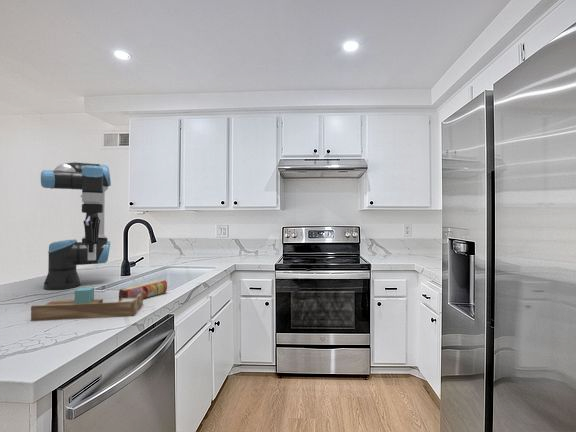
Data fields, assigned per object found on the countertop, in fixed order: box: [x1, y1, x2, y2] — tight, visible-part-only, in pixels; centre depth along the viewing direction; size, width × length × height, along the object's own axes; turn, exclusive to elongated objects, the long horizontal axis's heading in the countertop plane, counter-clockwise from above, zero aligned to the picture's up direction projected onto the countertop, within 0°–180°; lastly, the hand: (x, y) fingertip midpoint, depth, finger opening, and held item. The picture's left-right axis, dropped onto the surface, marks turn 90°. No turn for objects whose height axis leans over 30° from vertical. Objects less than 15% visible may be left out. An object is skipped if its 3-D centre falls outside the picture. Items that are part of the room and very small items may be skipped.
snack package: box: [118, 278, 168, 301], centre depth 145 cm, size 21×7×7 cm, turn 152°
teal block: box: [74, 286, 95, 304], centre depth 126 cm, size 5×5×5 cm
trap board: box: [30, 292, 144, 322], centre depth 123 cm, size 15×33×5 cm, turn 102°
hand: (91, 260), depth 134 cm, fingers closed
